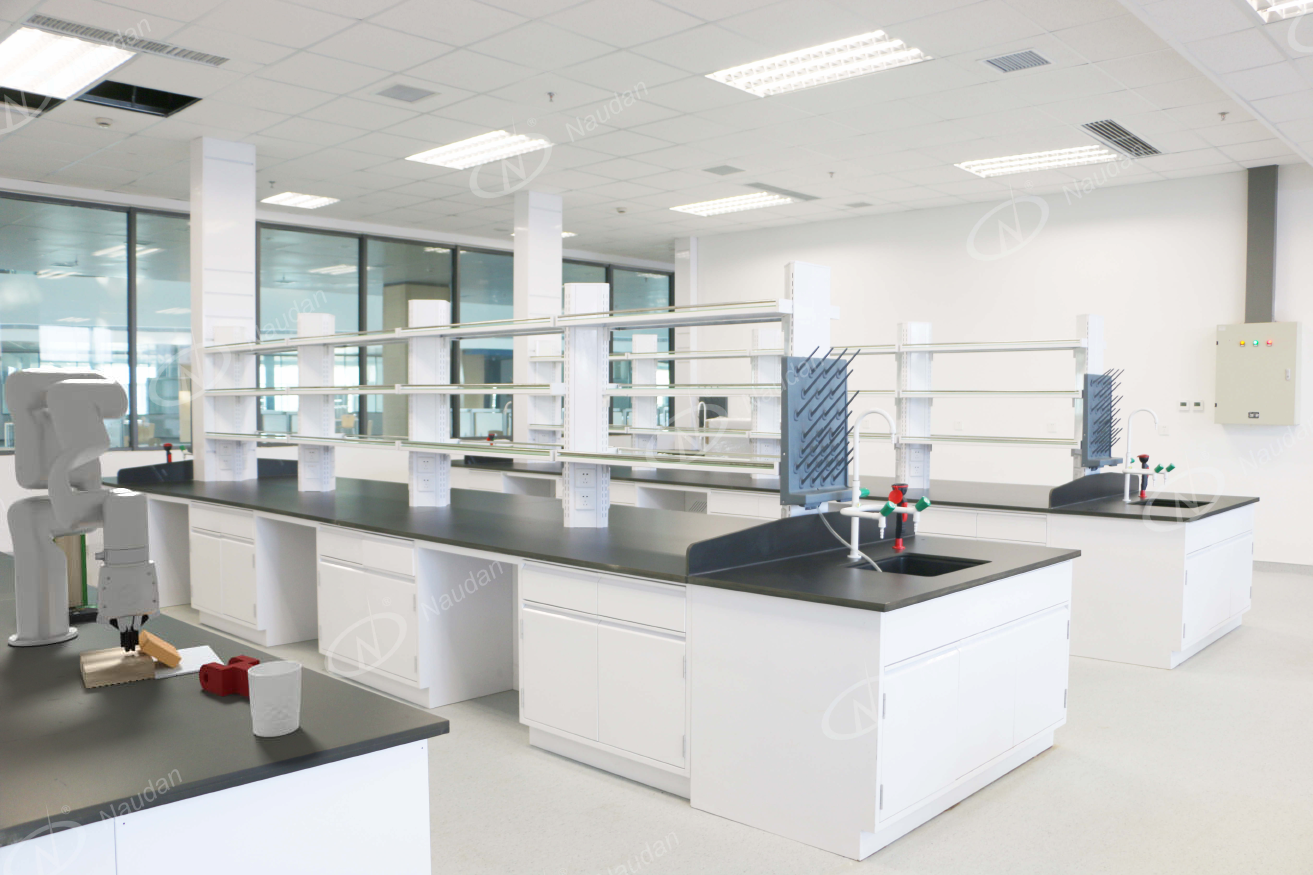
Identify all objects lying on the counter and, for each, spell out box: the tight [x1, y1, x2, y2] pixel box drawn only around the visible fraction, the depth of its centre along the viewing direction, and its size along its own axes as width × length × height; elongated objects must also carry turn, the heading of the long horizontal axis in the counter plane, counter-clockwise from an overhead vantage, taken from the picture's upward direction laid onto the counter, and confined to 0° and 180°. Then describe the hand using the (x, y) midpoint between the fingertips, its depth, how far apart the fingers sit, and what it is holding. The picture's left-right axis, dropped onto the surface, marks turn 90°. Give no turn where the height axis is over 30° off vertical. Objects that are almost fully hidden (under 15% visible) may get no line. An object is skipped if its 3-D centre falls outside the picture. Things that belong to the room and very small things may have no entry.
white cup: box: [248, 660, 302, 738], centre depth 143 cm, size 8×8×10 cm
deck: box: [79, 645, 155, 690], centre depth 173 cm, size 16×11×3 cm
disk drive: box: [69, 603, 98, 625], centre depth 216 cm, size 10×3×15 cm
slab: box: [139, 629, 182, 668], centre depth 177 cm, size 10×7×2 cm
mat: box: [151, 645, 225, 680], centre depth 180 cm, size 18×12×1 cm, turn 36°
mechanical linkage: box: [198, 654, 261, 699], centre depth 162 cm, size 16×7×5 cm, turn 54°
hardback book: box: [53, 534, 89, 607], centre depth 229 cm, size 18×7×24 cm, turn 44°
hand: (129, 649), depth 174 cm, fingers closed
